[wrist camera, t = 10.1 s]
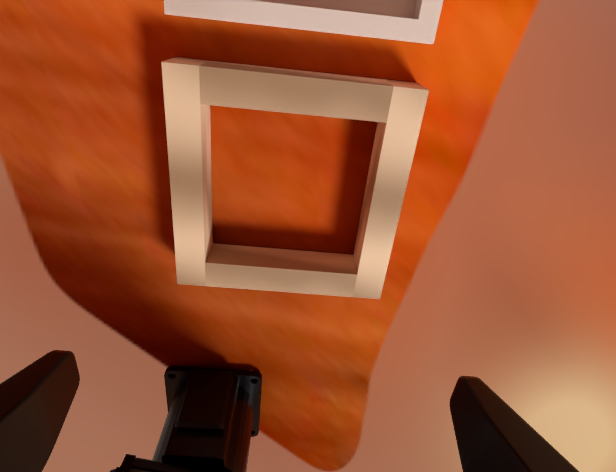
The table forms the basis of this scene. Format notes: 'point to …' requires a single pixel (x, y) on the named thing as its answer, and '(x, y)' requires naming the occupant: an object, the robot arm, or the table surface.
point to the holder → (300, 100)
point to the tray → (325, 15)
